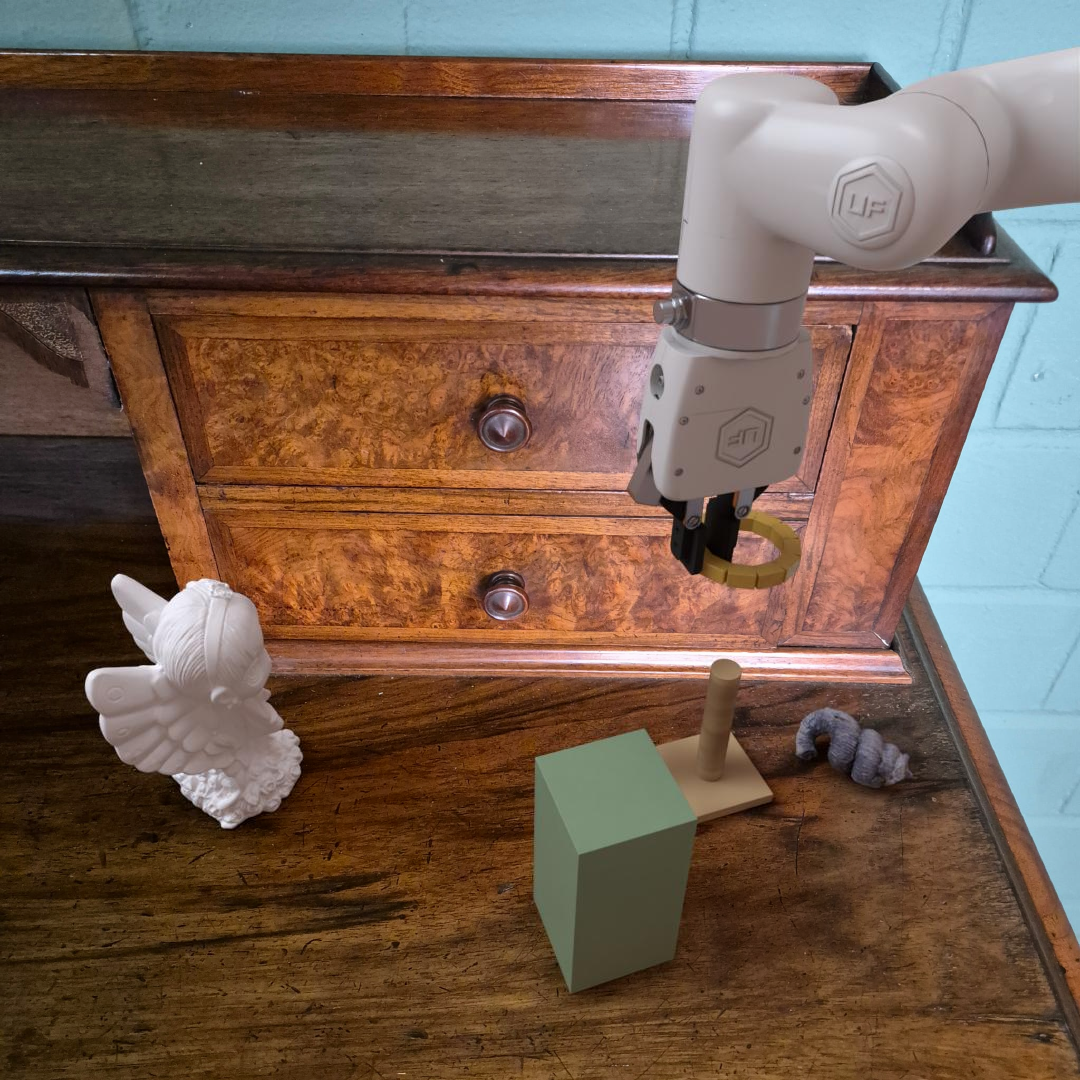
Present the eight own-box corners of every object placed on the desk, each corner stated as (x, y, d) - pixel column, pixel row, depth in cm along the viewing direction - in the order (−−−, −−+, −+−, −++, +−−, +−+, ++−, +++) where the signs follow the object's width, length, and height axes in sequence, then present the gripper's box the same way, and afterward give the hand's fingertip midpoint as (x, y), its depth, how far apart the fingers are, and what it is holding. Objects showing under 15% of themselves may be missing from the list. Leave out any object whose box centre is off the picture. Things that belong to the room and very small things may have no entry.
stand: (674, 959, 69) (698, 819, 59) (570, 994, 66) (578, 854, 57) (629, 868, 75) (644, 727, 65) (533, 897, 72) (534, 757, 63)
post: (771, 801, 80) (798, 691, 72) (686, 827, 78) (704, 716, 70) (726, 733, 86) (746, 625, 78) (645, 756, 84) (658, 647, 76)
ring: (820, 575, 65) (824, 561, 65) (717, 599, 63) (719, 585, 62) (761, 513, 71) (763, 499, 71) (665, 532, 69) (666, 519, 69)
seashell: (789, 755, 86) (900, 805, 82) (785, 748, 81) (903, 801, 77) (812, 701, 87) (922, 748, 83) (809, 691, 82) (927, 740, 78)
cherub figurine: (299, 836, 77) (258, 654, 65) (138, 855, 75) (66, 673, 63) (305, 717, 87) (271, 541, 75) (164, 732, 85) (107, 555, 74)
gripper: (641, 354, 50) (619, 617, 61) (889, 318, 55) (827, 569, 66) (588, 302, 56) (577, 550, 67) (817, 273, 60) (771, 511, 71)
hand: (701, 558), depth 66 cm, fingers closed on ring, 1 cm apart
